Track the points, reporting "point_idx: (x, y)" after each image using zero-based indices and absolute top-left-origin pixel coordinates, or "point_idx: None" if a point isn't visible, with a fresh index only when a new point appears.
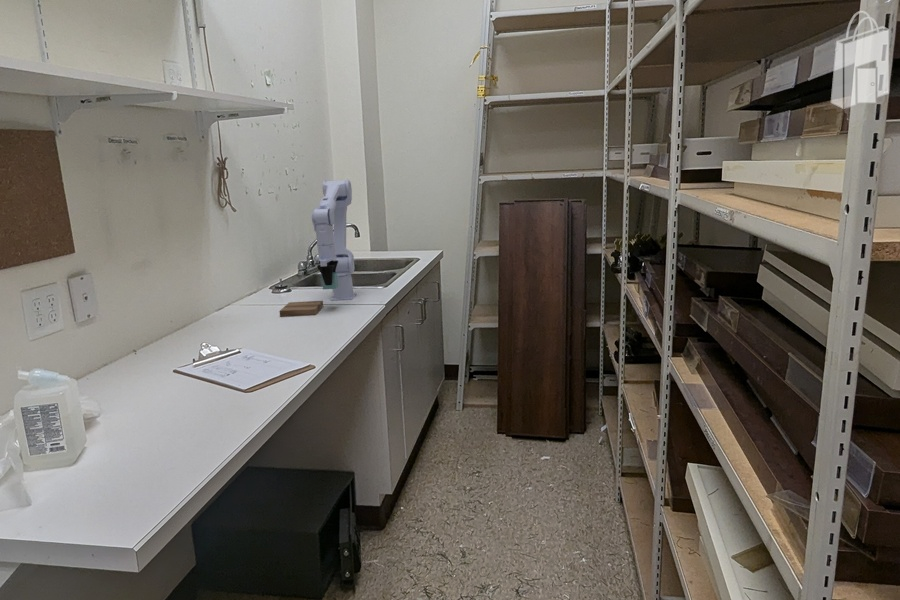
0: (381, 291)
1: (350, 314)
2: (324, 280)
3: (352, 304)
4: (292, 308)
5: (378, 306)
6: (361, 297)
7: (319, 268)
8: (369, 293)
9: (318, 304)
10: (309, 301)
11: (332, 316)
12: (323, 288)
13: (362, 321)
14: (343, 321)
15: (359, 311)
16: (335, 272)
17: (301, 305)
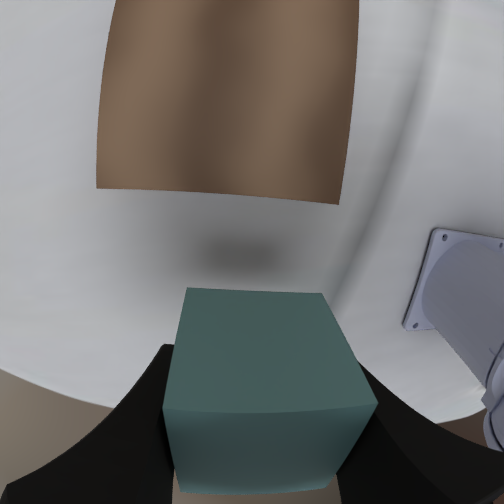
0: (452, 390)
1: (114, 347)
2: (143, 380)
3: None
4: (163, 22)
5: None
6: (418, 352)
7: (18, 496)
8: (455, 363)
9: (227, 187)
10: (347, 111)
11: (85, 274)
12: (185, 299)
13: (32, 375)
14: (22, 322)
15: None
16: (296, 488)
17: (235, 64)
